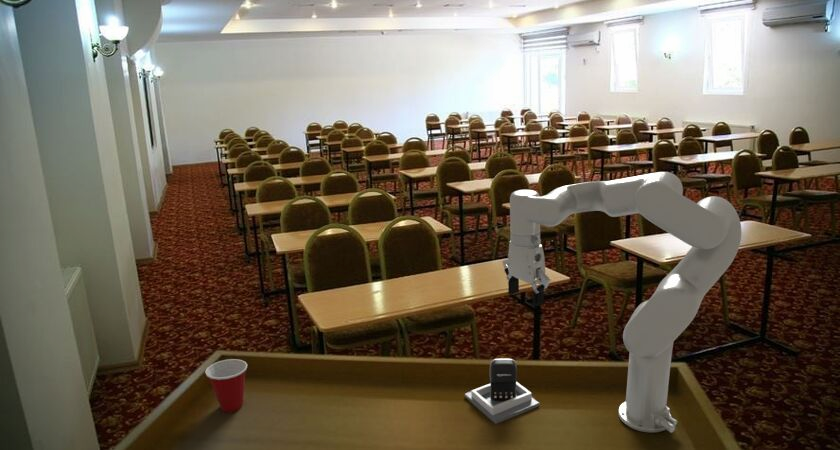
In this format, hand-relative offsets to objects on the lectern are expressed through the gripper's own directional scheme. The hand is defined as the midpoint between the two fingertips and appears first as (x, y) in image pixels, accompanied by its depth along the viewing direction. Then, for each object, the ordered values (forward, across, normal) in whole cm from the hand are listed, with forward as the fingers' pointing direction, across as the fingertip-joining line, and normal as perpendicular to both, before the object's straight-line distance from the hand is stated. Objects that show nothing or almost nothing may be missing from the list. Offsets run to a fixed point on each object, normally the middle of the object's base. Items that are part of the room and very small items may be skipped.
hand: (525, 299), depth 165 cm
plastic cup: (+25, +38, +71) cm, 84 cm away
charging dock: (+26, -2, +11) cm, 28 cm away
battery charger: (+25, -3, +11) cm, 27 cm away
